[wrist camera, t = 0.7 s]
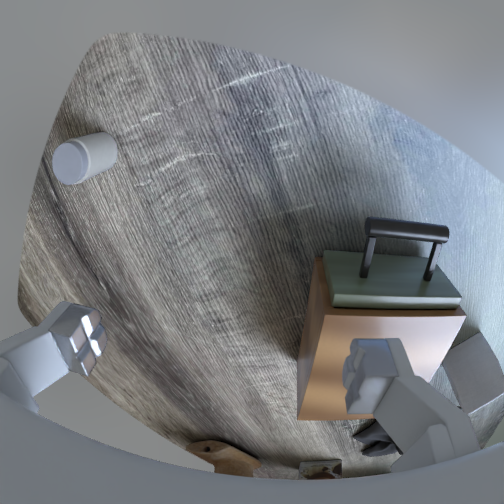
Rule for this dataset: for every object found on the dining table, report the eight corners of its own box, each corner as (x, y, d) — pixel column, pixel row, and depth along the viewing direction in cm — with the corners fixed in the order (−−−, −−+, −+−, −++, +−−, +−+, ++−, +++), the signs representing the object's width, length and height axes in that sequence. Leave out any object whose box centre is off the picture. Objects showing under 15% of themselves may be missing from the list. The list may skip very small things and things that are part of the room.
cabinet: (314, 256, 27) (324, 314, 20) (429, 264, 26) (466, 315, 19) (296, 361, 34) (297, 420, 26) (391, 361, 33) (406, 415, 25)
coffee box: (342, 458, 48) (345, 523, 34) (337, 468, 51) (339, 527, 37) (299, 461, 49) (297, 527, 35) (297, 470, 52) (295, 530, 38)
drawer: (330, 196, 24) (346, 228, 18) (444, 211, 23) (482, 242, 17) (304, 354, 32) (306, 402, 26) (394, 354, 31) (408, 398, 25)
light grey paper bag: (441, 354, 32) (465, 410, 23) (480, 331, 30) (510, 383, 21) (443, 367, 33) (464, 421, 24) (480, 346, 31) (507, 396, 22)
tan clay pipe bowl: (276, 460, 49) (272, 521, 36) (230, 465, 53) (221, 521, 40) (235, 432, 44) (222, 506, 31) (186, 438, 48) (169, 502, 35)
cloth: (368, 457, 48) (371, 480, 42) (337, 431, 42) (339, 461, 36) (463, 417, 40) (470, 440, 35) (458, 379, 34) (470, 407, 29)
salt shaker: (84, 134, 24) (48, 143, 19) (116, 129, 23) (82, 137, 18) (87, 172, 25) (53, 188, 20) (119, 170, 25) (86, 186, 20)
